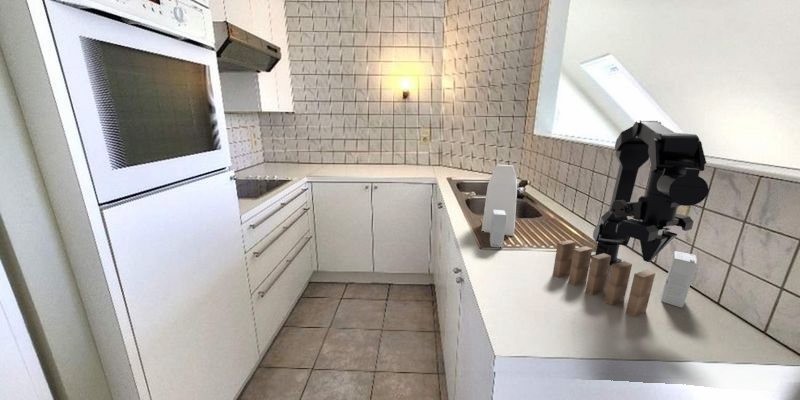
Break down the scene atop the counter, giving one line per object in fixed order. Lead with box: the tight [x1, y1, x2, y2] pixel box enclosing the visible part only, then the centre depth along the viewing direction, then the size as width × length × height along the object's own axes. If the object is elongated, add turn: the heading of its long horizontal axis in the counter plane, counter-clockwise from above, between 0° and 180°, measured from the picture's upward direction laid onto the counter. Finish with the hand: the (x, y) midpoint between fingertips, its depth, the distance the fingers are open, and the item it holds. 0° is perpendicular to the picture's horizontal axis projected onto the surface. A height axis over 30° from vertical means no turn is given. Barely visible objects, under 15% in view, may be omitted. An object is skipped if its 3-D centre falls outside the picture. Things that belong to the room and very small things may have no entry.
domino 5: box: [625, 269, 656, 318], centre depth 73 cm, size 5×2×10 cm, turn 117°
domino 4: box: [603, 260, 633, 306], centre depth 77 cm, size 5×2×10 cm, turn 116°
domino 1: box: [552, 239, 576, 278], centre depth 90 cm, size 5×2×10 cm, turn 116°
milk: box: [481, 164, 518, 237], centre depth 125 cm, size 12×12×26 cm
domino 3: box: [584, 253, 611, 296], centre depth 82 cm, size 5×2×10 cm, turn 116°
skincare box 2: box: [660, 250, 698, 308], centre depth 78 cm, size 6×4×12 cm
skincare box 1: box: [489, 210, 507, 248], centre depth 111 cm, size 6×4×12 cm
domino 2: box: [567, 245, 593, 286], centre depth 86 cm, size 5×2×10 cm, turn 116°
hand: (646, 261), depth 71 cm, fingers closed
